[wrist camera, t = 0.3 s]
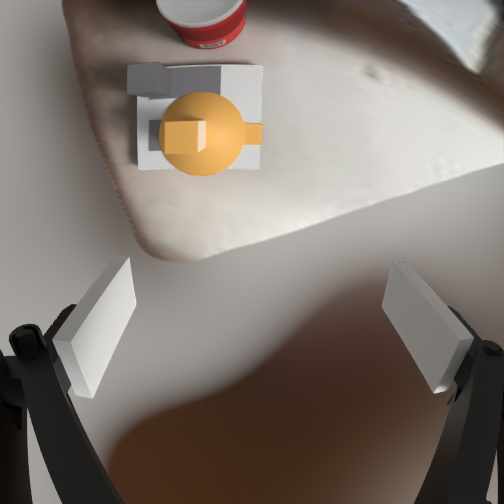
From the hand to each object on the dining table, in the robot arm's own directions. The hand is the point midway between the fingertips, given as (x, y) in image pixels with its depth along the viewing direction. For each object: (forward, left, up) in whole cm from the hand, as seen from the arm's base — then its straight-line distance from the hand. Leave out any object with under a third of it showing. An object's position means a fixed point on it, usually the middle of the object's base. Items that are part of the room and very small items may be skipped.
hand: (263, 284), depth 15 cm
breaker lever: (-6, -7, -22) cm, 24 cm away
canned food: (-20, -5, -25) cm, 32 cm away
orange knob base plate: (-8, -6, -24) cm, 27 cm away
